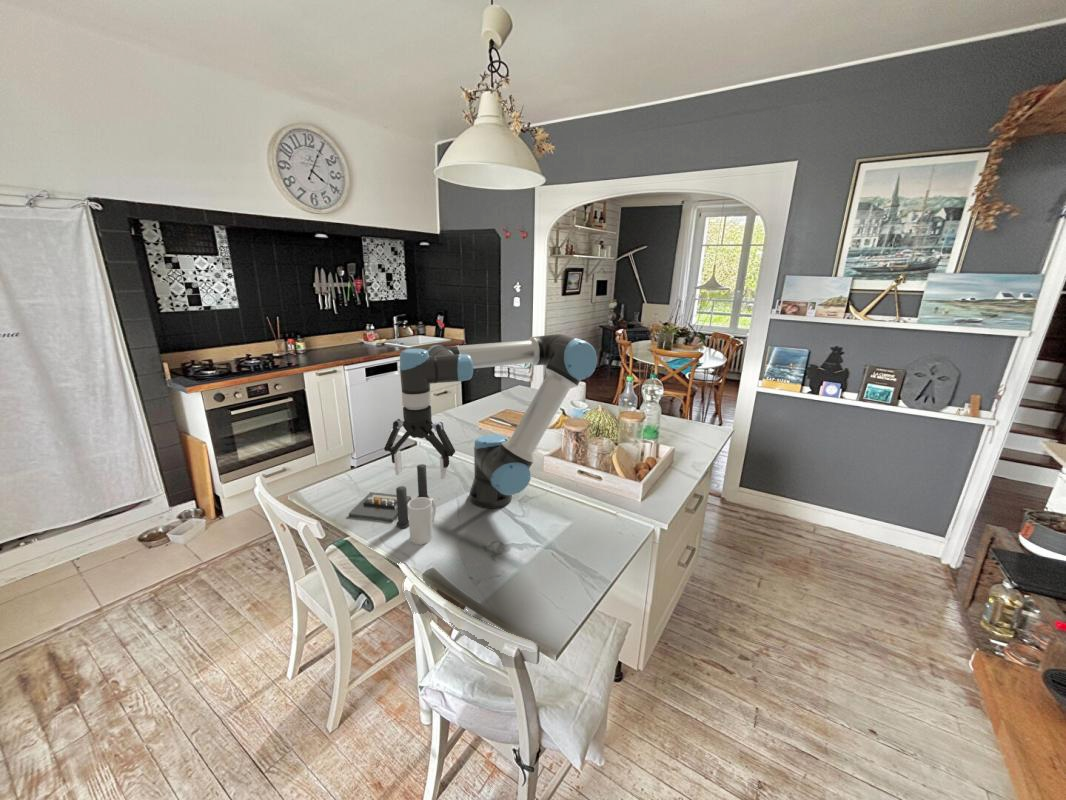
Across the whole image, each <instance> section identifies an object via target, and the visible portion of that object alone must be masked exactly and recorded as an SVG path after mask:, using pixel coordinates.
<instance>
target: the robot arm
mask: <svg viewBox="0 0 1066 800" xmlns="http://www.w3.org/2000/svg"><path fill="white" fill-rule="evenodd" d="M522 364H530V365H532V366H546V367H545V373H546V375H545V378H544V379H543V381H542V383H541V384H540V386H539V388H538V390H537V391H536V393H535V395H534V397H533V398H532V400H531V402H530V404H529V405H528V407H527V409H526V410H525V413H523V416H522V418H521V419H520V420H519V423H518V425H517V426H516V427H515V430H514V431H513V433H512V435H511V436H510V438H508V437H507V436H504V435H500V434H489V435H488V434H486V435H482V436H479V437H477V438H476V439H475V440H474V444H473V445H474V446H473V451H474V453H473V454H474V457H473V461H474V464H473V466H474V468H473V469H474V473H473V474H474V478H473V481H472V484H471V487H470V490H469V500H470V502H471V503H472V504H473V505H474V506H477V507H479V508H483V509H496V508H501V507H503V506H506V505H508V504H509V503H510V502H511V501H512V499H513V496H514V495H515V494H520V493H521V492H522V491H524V490H525V489H526V488H527V487H528V485H530V484H529V483H530V481H531V478H532V476H531V471H530V468H531V467H532V464H534V455H533V454H534V452H535V451H536V448H537V447H538V445H539V444H540V442H541V440H542V439H543V436H544V434H545V433H546V432H547V430H548V429H549V426H550V425H551V423H552V421H553V419H554V418H555V415H556V414H557V412H558V411H559V409H560V407H561V405H562V404H563V402H564V400H565V398H566V396H567V395H568V393H569V391H570V390H571V389H573V388H578V386H579V384H580V382H581V381H582V380H586V379H587V378H589V377H591V376H592V375H593V373H594V372H595V371H596V367H597V364H598V357H597V352H596V349H595V347H594V346H593V345H592V344H591V343H589V342H587V341H586V340H583V339H582V338H576V337H573V336H570V335H569V336H568V335H566V334H561V333H558V334H555V333H554V334H549V335H547V334H546V335H538V336H530V337H529V339H527V340H516V341H515V340H513V341H504V342H503V341H501V342H489V343H477V344H466V345H465V344H464V345H455V346H454V345H451V346H443V345H439V344H435V345H431V346H429V348H427V349H424V348H407V349H403V350H402V351H401V352H400V353H399V373H400V374H399V376H400V387H401V400H402V403H401V404H402V406H403V407H402V413H403V416H402V417H403V420H401V419H400V418H397V419H396V420H394V421H393V423H392V431H391V433H390V434H389V436H388V439H387V442H386V443H385V446H384V448H383V450H384V451H385V452H390V454H391V455H390V456H391V462H392V464H394V470H395V475H396V476H399V475H400V474H401V473H402V472H403V465H402V463H403V462H402V461H403V460H402V452H401V451H402V450H399V449H400V447H401V446H403V444H404V443H405V442H406V440H408V439H409V437H411V438H412V439H417V438H419V439H425V440H426V441H428V442H429V443H430V444H431V446H433V448H434V449H435V450H436V451H437V453H438V454H440V458H439V463H440V464H439V468H440V471H439V472H440V479H441V480H444V479H445V478H446V477H447V476H448V474H447V468H448V467H449V466H450V457H453V456H454V454H455V453H456V450H455V447H454V445H453V444H452V442H451V440H450V438H449V436H448V435H447V432H446V430H445V429H444V423H443V422H442V421H440V422H438V423H437V422H436V423H434V422H433V421H432V406H431V401H432V400H431V399H432V398H431V384H442V383H454V382H455V383H456V382H459V383H460V382H464V381H469V380H471V379H472V377H473V375H474V369H482V368H492V367H493V368H494V367H502V366H511V365H522ZM402 427H403V428H404V429H405V433H404V434H403V435H402V437H400V439H399V440H398V441H397V442H396V443H395V441H396V439H397V436H398V434H399V432H400V430H401V428H402ZM433 430H434V431H435V432H436V434H437V436H438V437H437V436H436V434H435V432H434V431H433Z"/></svg>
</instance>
